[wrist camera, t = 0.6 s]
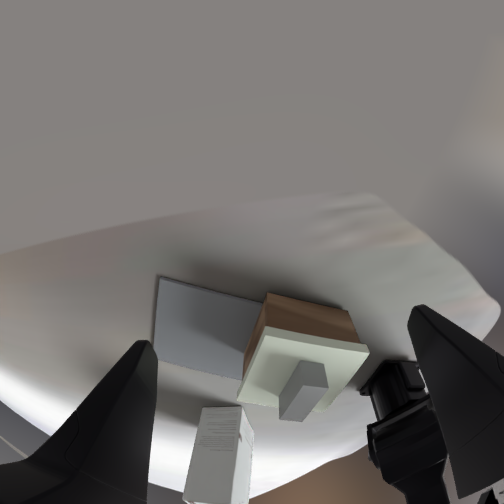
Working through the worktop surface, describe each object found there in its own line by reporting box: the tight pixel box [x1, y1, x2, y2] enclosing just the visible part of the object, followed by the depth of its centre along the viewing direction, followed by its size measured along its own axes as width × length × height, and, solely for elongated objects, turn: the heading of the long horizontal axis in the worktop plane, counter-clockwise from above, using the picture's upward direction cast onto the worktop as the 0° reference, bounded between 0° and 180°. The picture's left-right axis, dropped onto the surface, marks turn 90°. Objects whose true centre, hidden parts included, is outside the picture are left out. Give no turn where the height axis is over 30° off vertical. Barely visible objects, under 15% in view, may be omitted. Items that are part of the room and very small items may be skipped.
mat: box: [153, 277, 263, 380], centre depth 27 cm, size 11×16×1 cm
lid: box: [236, 326, 370, 422], centre depth 21 cm, size 9×9×4 cm
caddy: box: [242, 292, 361, 380], centre depth 24 cm, size 8×8×5 cm
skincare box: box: [182, 406, 254, 504], centre depth 28 cm, size 8×6×15 cm
